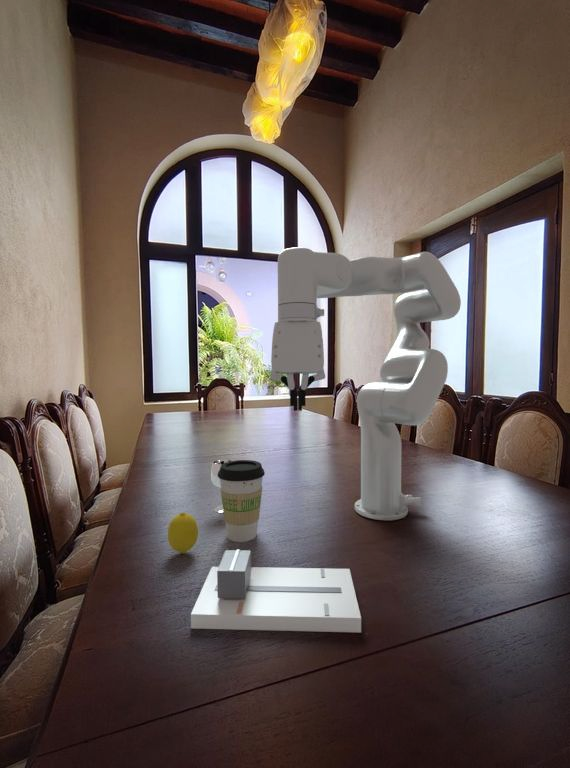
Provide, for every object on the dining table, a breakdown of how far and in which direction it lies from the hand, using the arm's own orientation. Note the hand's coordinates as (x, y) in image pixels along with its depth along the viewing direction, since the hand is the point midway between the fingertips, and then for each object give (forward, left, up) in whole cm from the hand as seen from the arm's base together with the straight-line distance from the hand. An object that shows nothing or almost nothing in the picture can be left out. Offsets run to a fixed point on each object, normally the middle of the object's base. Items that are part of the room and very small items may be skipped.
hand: (297, 409), depth 72 cm
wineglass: (+19, -18, -27) cm, 38 cm away
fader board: (+3, +18, -27) cm, 33 cm away
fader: (+10, +18, -25) cm, 32 cm away
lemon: (+22, +4, -27) cm, 35 cm away
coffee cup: (+12, -4, -27) cm, 30 cm away
